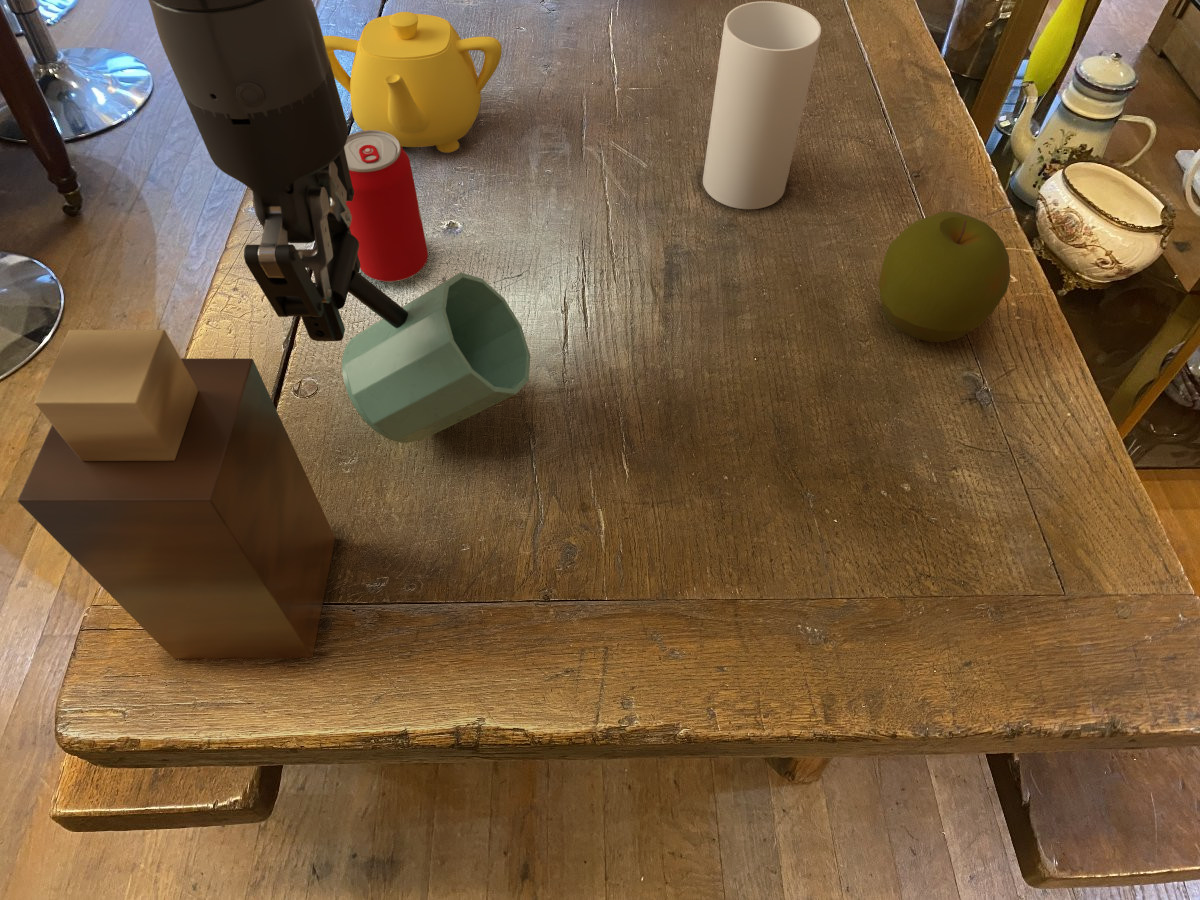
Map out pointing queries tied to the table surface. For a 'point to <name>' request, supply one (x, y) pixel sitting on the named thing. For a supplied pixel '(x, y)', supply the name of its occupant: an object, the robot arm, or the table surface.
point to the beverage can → (384, 207)
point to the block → (119, 395)
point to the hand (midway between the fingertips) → (337, 303)
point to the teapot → (415, 78)
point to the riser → (200, 526)
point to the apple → (943, 276)
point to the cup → (759, 102)
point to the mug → (427, 351)
